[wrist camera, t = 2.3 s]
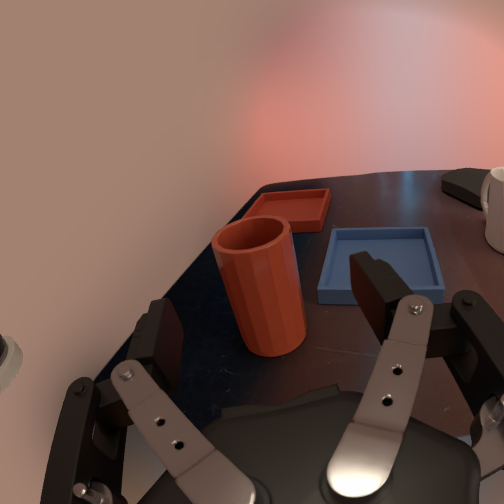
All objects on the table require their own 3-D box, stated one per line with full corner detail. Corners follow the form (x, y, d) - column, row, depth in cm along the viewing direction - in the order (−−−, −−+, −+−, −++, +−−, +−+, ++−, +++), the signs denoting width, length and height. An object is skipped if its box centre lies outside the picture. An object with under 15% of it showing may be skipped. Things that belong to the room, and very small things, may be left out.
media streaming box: (433, 188, 50) (433, 173, 49) (477, 176, 52) (477, 163, 50) (489, 216, 38) (491, 198, 36) (528, 199, 39) (529, 184, 37)
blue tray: (442, 304, 26) (445, 288, 26) (318, 304, 32) (316, 289, 31) (426, 239, 37) (427, 226, 36) (333, 241, 42) (332, 228, 41)
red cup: (266, 368, 26) (235, 263, 21) (232, 332, 31) (199, 237, 26) (320, 332, 28) (306, 227, 23) (281, 303, 33) (261, 209, 28)
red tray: (321, 232, 45) (319, 219, 44) (239, 234, 50) (236, 223, 49) (331, 198, 56) (329, 188, 55) (264, 202, 61) (262, 193, 60)
